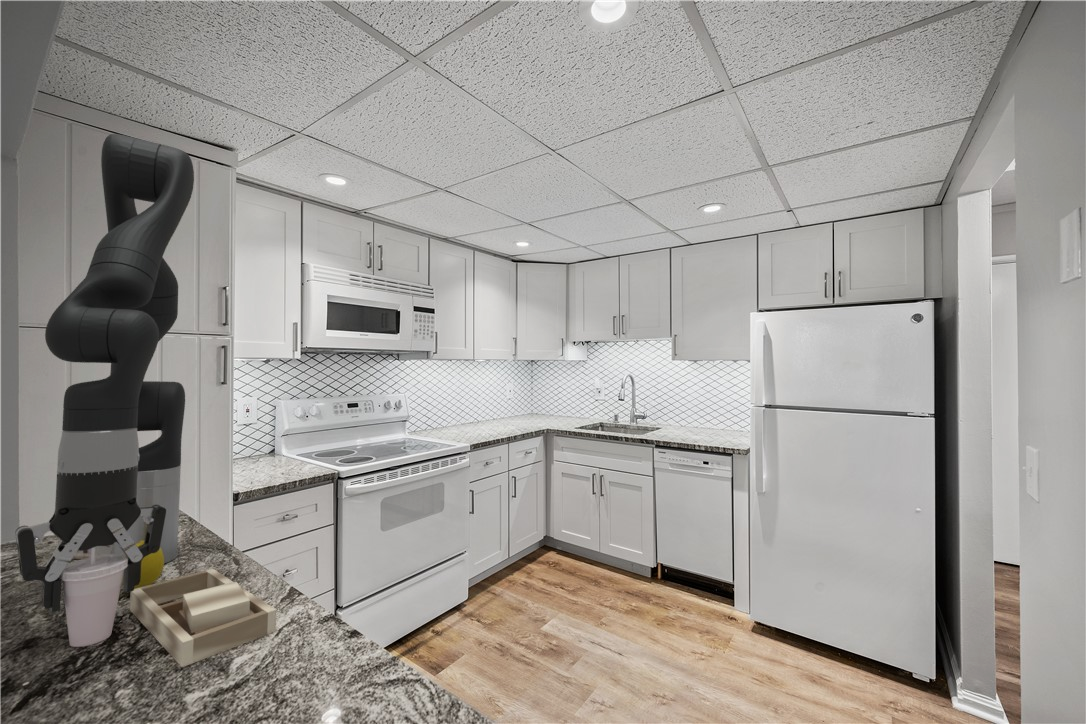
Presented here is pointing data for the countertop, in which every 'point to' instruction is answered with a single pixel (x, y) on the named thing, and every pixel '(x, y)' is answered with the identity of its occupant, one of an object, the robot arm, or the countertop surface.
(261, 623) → the offcut rack
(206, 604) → the offcut top
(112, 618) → the smoothie
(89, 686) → the countertop surface
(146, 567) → the lemon
